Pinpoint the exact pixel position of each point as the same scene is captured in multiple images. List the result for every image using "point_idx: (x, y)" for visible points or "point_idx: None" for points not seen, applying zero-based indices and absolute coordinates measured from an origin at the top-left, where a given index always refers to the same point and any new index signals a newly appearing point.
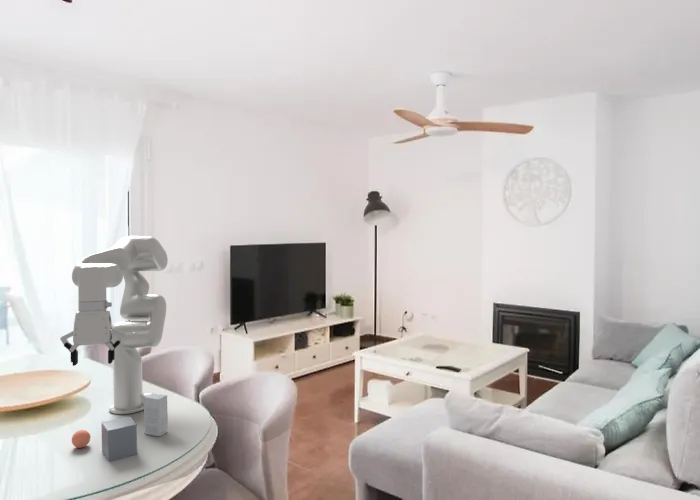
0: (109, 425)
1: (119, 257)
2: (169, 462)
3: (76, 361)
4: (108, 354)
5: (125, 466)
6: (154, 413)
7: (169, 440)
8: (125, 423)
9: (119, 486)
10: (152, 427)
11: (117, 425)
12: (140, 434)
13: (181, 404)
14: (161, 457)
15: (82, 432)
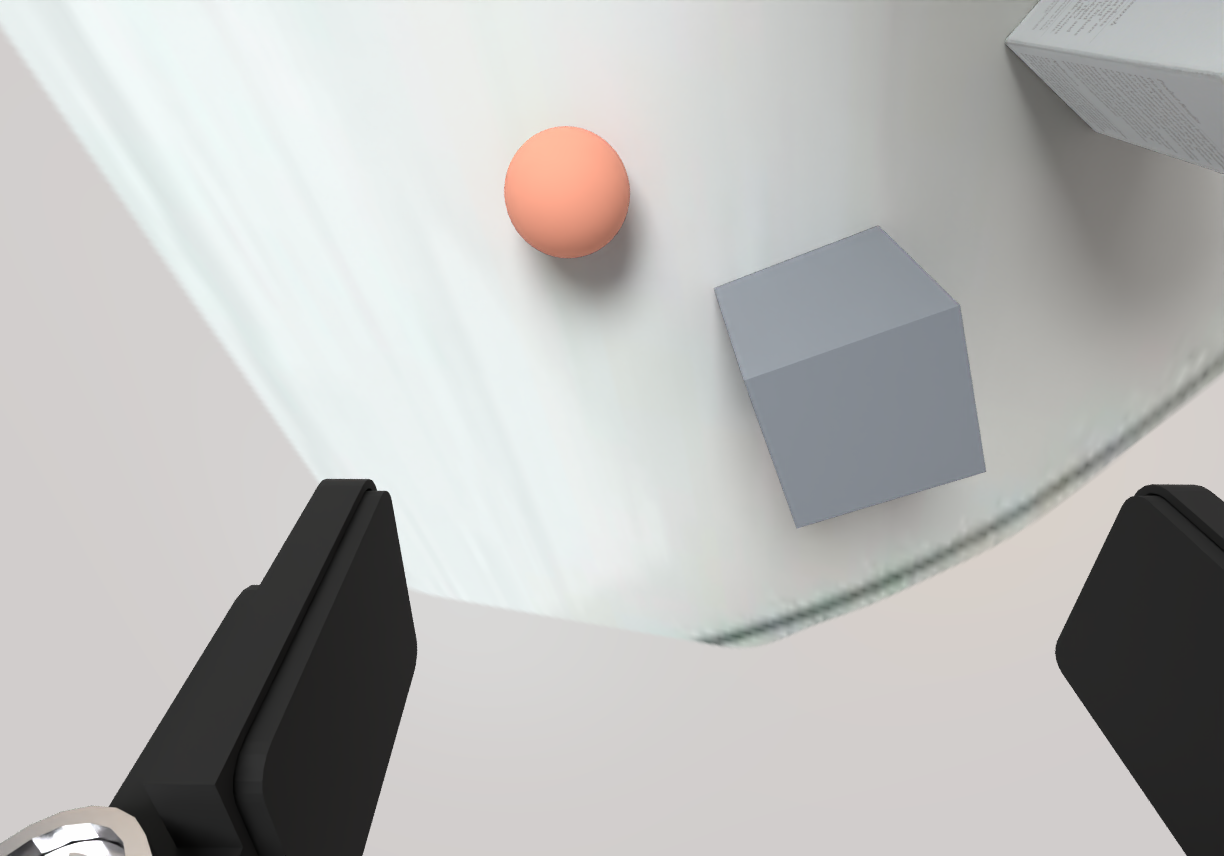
0: (804, 451)
1: None
2: (1043, 489)
3: (390, 634)
4: (1197, 850)
5: None
6: (1187, 141)
7: (1135, 216)
8: (914, 442)
9: (812, 619)
10: (1090, 103)
11: (858, 464)
12: (973, 36)
13: None
14: (1021, 432)
15: (581, 235)
